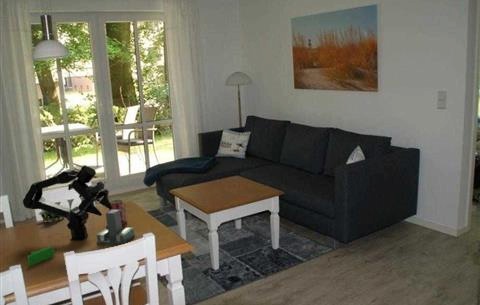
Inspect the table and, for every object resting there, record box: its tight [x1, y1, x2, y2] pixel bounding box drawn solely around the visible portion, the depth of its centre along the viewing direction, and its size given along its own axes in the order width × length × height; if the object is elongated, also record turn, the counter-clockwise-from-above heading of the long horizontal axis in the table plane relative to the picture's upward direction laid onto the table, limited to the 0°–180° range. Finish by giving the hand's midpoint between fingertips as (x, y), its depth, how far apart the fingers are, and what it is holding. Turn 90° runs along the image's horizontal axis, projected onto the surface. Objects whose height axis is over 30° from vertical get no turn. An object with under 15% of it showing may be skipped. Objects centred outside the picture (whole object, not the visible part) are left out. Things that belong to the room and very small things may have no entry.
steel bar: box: [105, 210, 123, 239], centre depth 202 cm, size 4×5×13 cm
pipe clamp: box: [27, 246, 55, 267], centre depth 184 cm, size 11×4×5 cm, turn 145°
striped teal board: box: [96, 225, 136, 245], centre depth 203 cm, size 14×11×6 cm
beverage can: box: [108, 199, 128, 225], centre depth 224 cm, size 8×8×12 cm
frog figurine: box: [38, 210, 65, 224], centre depth 236 cm, size 18×18×12 cm
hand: (106, 212), depth 201 cm, fingers open, 9 cm apart
